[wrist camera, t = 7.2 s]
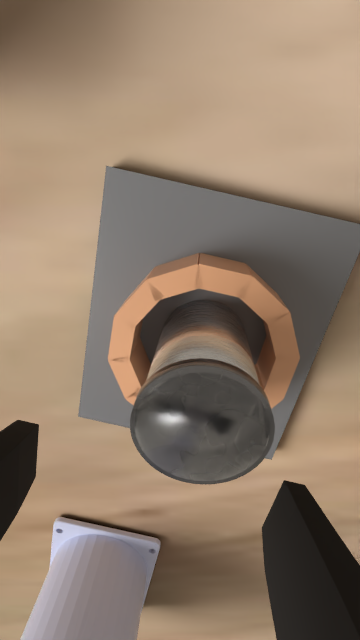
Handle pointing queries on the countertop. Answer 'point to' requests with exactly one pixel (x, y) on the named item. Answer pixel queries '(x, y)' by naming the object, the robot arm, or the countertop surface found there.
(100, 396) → the duct flange
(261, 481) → the countertop surface
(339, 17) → the countertop surface
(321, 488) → the countertop surface
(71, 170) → the countertop surface
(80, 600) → the robot arm
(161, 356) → the silver metal cylinder
